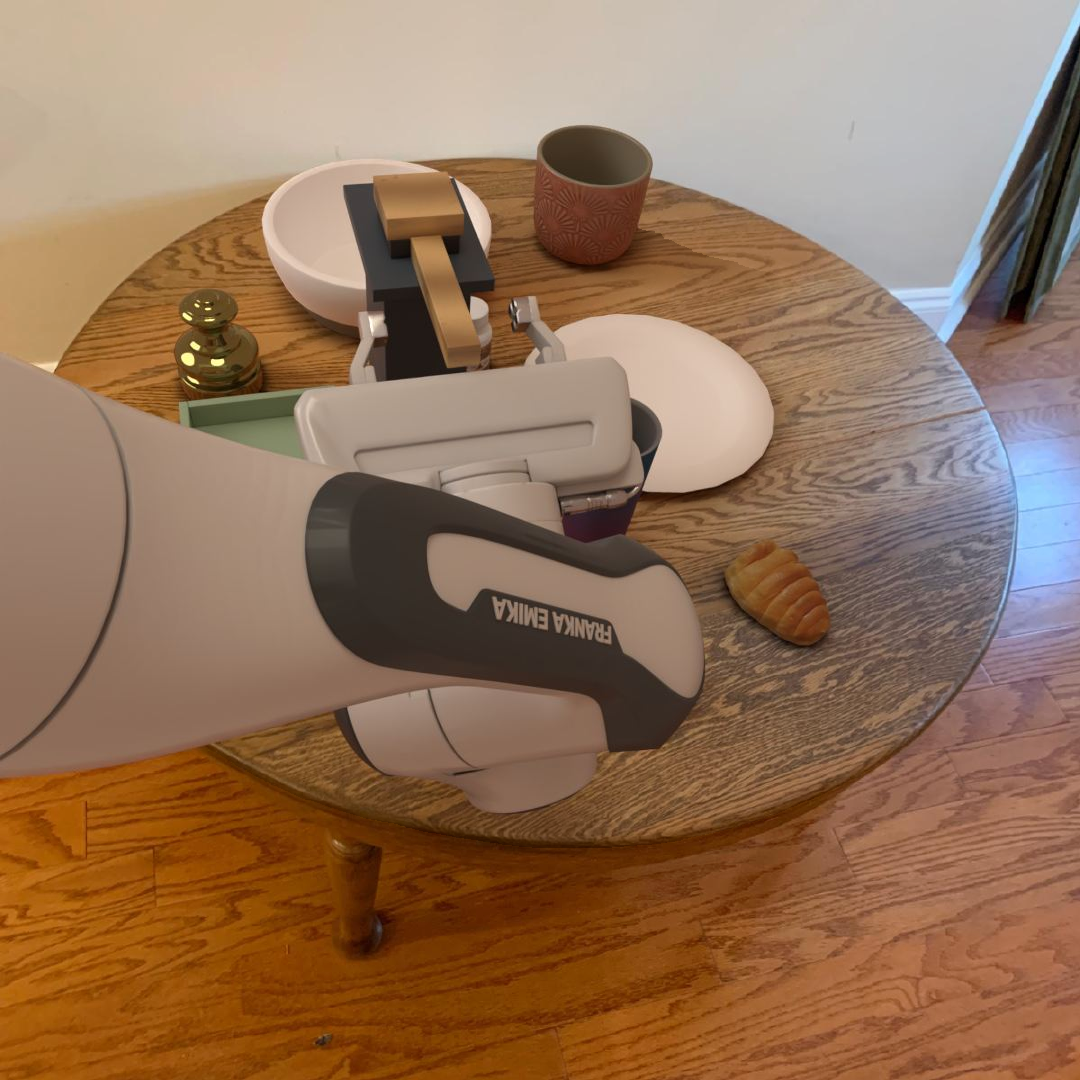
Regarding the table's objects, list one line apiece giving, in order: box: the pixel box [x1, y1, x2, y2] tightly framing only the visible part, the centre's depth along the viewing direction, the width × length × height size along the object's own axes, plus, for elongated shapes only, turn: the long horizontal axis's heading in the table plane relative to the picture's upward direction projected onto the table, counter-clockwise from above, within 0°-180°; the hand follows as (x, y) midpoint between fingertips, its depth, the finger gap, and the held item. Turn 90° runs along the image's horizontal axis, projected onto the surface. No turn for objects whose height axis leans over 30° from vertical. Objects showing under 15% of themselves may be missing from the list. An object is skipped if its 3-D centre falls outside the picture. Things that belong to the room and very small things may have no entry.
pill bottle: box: [467, 295, 493, 372], centre depth 93 cm, size 4×4×8 cm
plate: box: [523, 313, 775, 495], centre depth 95 cm, size 25×25×2 cm
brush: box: [373, 171, 481, 368], centre depth 61 cm, size 16×5×3 cm, turn 16°
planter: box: [533, 124, 654, 266], centre depth 107 cm, size 12×12×11 cm
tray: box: [178, 384, 336, 459], centre depth 82 cm, size 14×22×3 cm, turn 16°
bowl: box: [261, 158, 493, 340], centre depth 100 cm, size 22×22×8 cm
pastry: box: [724, 538, 832, 646], centre depth 80 cm, size 9×7×4 cm
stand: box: [343, 177, 496, 382], centre depth 76 cm, size 8×12×26 cm, turn 16°
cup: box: [561, 398, 662, 543], centre depth 78 cm, size 7×7×15 cm
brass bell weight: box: [173, 288, 264, 401], centre depth 88 cm, size 7×7×10 cm
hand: (447, 306), depth 60 cm, fingers open, 8 cm apart
